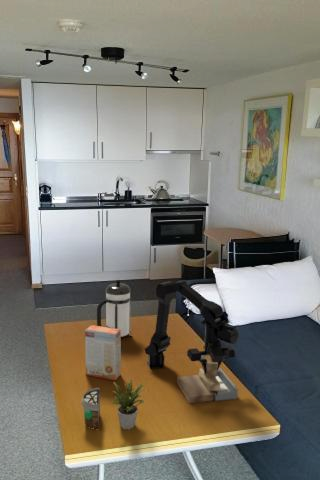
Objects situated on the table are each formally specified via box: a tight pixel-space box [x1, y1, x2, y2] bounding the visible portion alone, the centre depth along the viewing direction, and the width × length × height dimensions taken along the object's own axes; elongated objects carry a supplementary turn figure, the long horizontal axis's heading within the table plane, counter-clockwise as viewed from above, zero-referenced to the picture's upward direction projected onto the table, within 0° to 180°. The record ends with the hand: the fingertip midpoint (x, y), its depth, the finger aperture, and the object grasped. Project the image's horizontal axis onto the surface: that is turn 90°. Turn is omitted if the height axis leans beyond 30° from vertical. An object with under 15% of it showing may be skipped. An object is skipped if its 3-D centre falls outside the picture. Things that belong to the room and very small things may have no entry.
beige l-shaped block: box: [198, 359, 220, 391], centre depth 184 cm, size 4×13×9 cm, turn 14°
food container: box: [80, 387, 101, 430], centre depth 161 cm, size 12×6×10 cm, turn 5°
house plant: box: [110, 378, 148, 430], centre depth 157 cm, size 14×14×16 cm
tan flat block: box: [176, 374, 215, 404], centre depth 183 cm, size 10×16×2 cm, turn 15°
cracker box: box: [84, 324, 122, 381], centre depth 193 cm, size 14×6×21 cm, turn 71°
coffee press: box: [96, 279, 133, 338], centre depth 232 cm, size 17×16×30 cm
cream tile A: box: [215, 384, 228, 394], centre depth 183 cm, size 4×4×2 cm
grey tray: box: [212, 367, 239, 402], centre depth 186 cm, size 9×18×4 cm, turn 15°
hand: (210, 372), depth 184 cm, fingers closed on beige l-shaped block, 4 cm apart
